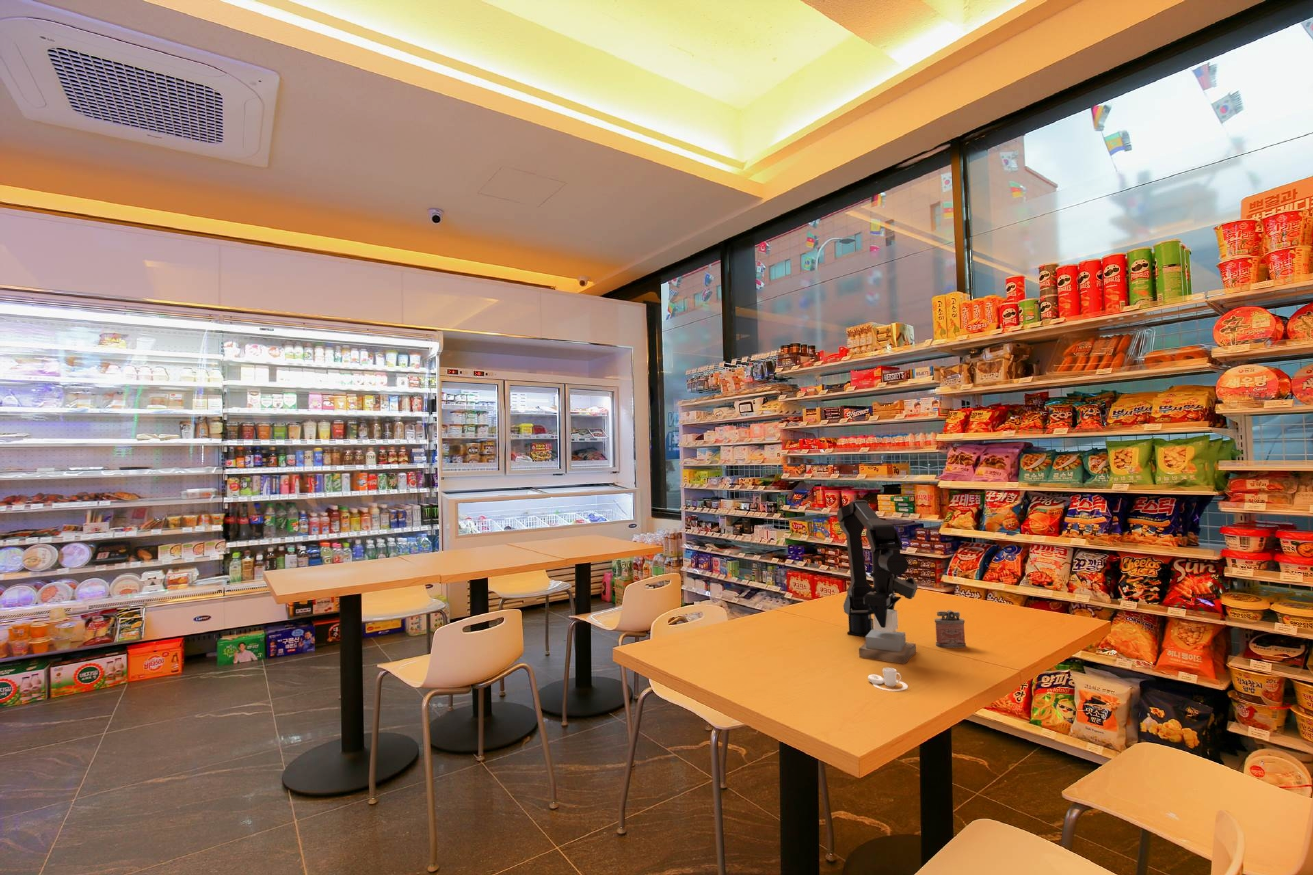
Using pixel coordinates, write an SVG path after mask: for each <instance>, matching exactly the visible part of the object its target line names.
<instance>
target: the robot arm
mask: <svg viewBox="0 0 1313 875" xmlns="http://www.w3.org/2000/svg"><path fill="white" fill-rule="evenodd" d="M836 517H837V518H836V520H837V522H838V523H839V528H840V529H841V531H842V532H843V533H844V535H845V536H846V546H847V554H848V556H847V557H848V563H849V572H850V574H849V575H850V583H849V585H848V587H847V590H846V597H845V600H844V603H843V605H842V606H843V612H844V613H845V614H846V615H848V631H847V632H846V633H847V635H852V636H859V637H866V636H867V634H868V633H869V632H870V631H871V630H872V629H874V618H872V615H873V616H874V615H875V616H876V618H877V620H878V622H879V624H880V626H881V627H882V628H885V626H886V618H887V609H891V610H895V606H896V603H898V601H900V600H901V599H902V597H904V598H905V599H907V600H912V599H913V598H915V596H916V593H917V591H918V588H919V587H918V584H916V579H915V578H913V577H907V579H904V578H899V576H903V574H905V573H906V572H907V570H908V567H909V561H908V559H907V558H906V556H904V554H902V553H901V550H903V542H902V541H903V540H902V539H901V537H900V534H899V532H898V530H897V528H896V527H895V525H893V523H891V522H890V521H888V520H884V519H881V517H879V516H878V514H877V513H876V512H875V511H874V510H873V509H872V507H871V506H870V505H869V501H868V500H865V499H860V500H859V499H858V500H852V501H850V502H849V503H847V504H845V505H843V506H840V508H839V509H838V510H837V512H836ZM864 529H865V530H866V531H865V536H866V539H867V542H868V544H869V546H870V551H871V565H872V572H870V577H871V578H872V584H873V585H871V584H870V583H869V581H868V579H867V570H866V563H865V555H864V554H865V553H864V546H863V538H862V533H863V531H864ZM897 595H899V596H897ZM901 596H902V597H901Z"/></svg>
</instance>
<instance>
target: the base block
mask: <svg viewBox="0 0 1313 875" xmlns="http://www.w3.org/2000/svg"><path fill="white" fill-rule="evenodd" d="M916 649H917V647H916V643H914V642H906V644H905V645H904V647H903V649H902V650H901V652H897V651H889V650H880V649H872V648H866V642H865V643H864V644H862V645H861V646H860V647H859V648H858V654H859V655H858V657H859V658H863V659H868V660H869V659H870V660H876V661H881V662H888V663H895V664H902V665H906V664H907V663H908V661H909V660H910V659H911V658H912V657H913V656H914V655H915V654H916V653H917V650H916Z"/></svg>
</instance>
